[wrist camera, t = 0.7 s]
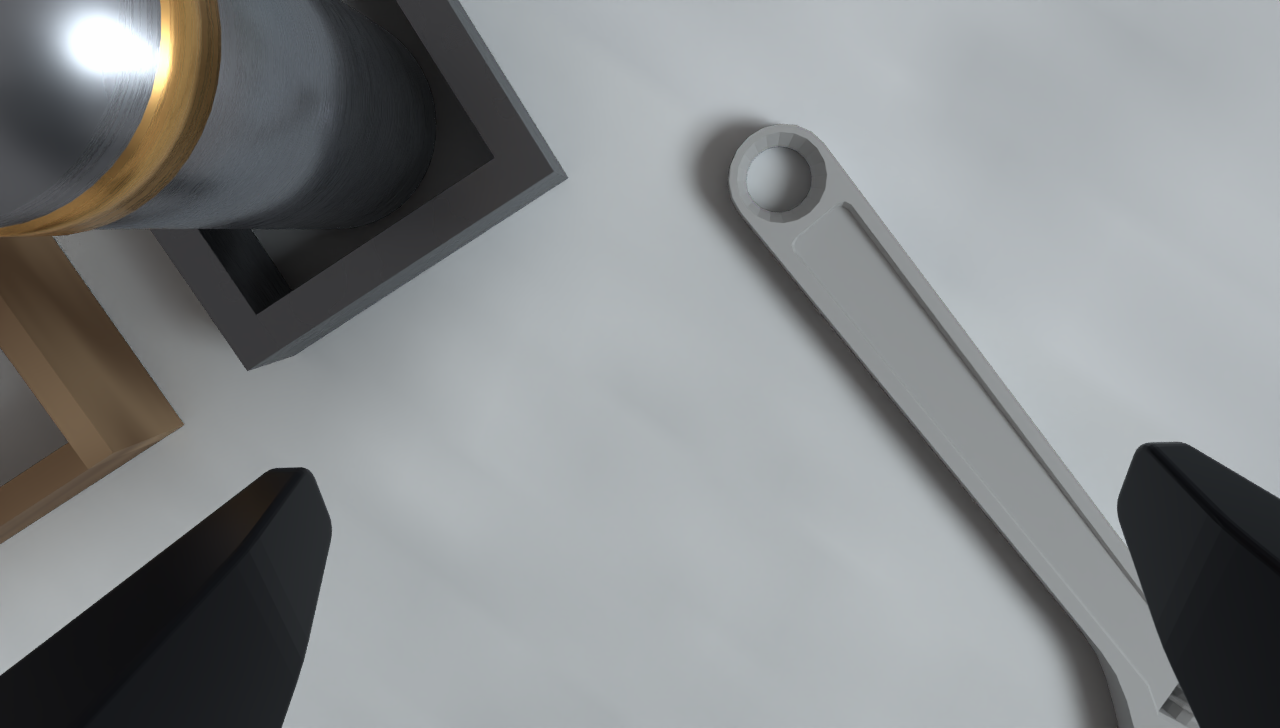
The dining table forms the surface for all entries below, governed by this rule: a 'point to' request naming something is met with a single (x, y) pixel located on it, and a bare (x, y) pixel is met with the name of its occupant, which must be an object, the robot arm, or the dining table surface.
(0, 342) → the wooden square frame
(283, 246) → the dining table surface
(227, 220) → the brass-banded metal cylinder
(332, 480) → the dining table surface
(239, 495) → the robot arm
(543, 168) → the socket block
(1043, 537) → the adjustable wrench
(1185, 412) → the dining table surface
